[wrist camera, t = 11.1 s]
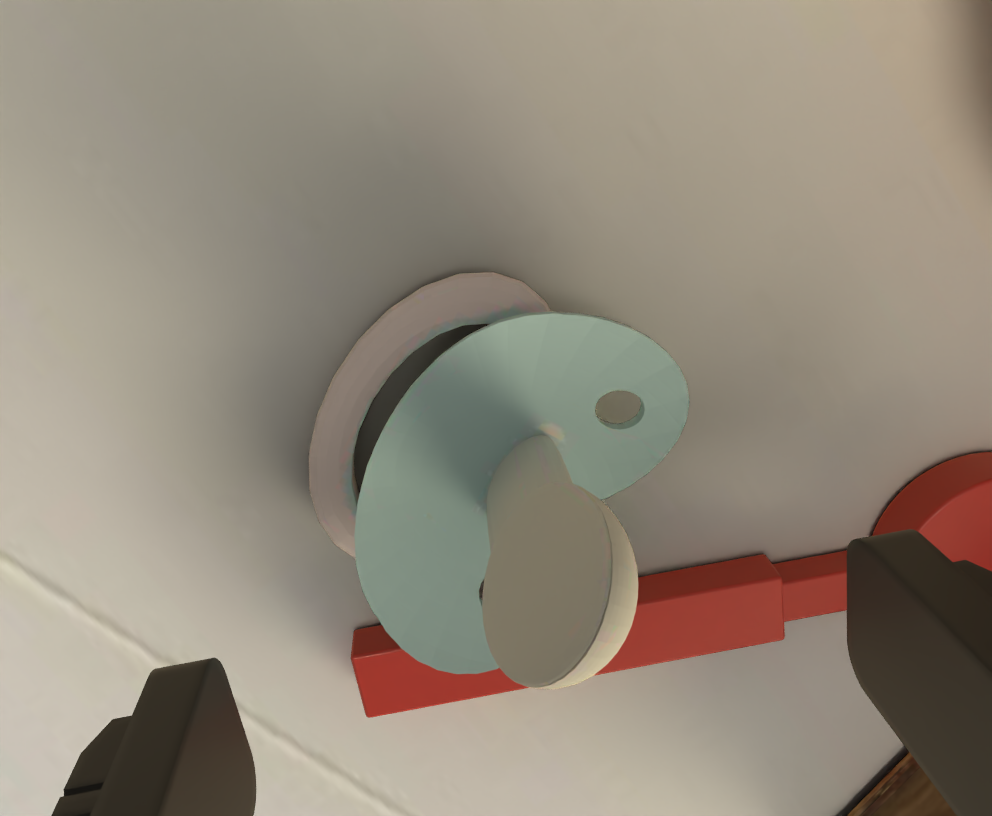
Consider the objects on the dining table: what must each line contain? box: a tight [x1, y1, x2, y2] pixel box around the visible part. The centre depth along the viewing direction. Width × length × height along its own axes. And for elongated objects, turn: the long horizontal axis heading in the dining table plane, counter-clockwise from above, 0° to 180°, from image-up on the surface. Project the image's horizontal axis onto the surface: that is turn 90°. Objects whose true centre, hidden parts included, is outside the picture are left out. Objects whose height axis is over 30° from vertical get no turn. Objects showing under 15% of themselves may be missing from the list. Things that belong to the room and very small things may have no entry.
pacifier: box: [309, 272, 689, 689], centre depth 15 cm, size 7×6×6 cm
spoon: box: [351, 452, 992, 718], centre depth 19 cm, size 16×5×1 cm, turn 99°
